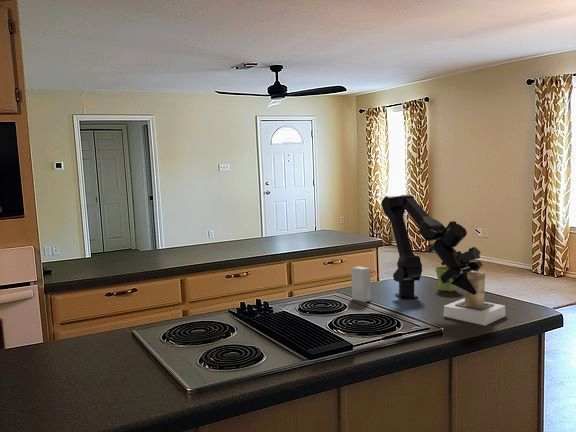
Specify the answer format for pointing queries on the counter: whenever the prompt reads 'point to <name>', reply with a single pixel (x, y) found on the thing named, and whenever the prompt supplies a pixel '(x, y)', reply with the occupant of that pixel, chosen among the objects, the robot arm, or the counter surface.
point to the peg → (476, 289)
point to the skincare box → (361, 283)
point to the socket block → (474, 312)
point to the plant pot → (442, 286)
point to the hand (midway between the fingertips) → (478, 292)
